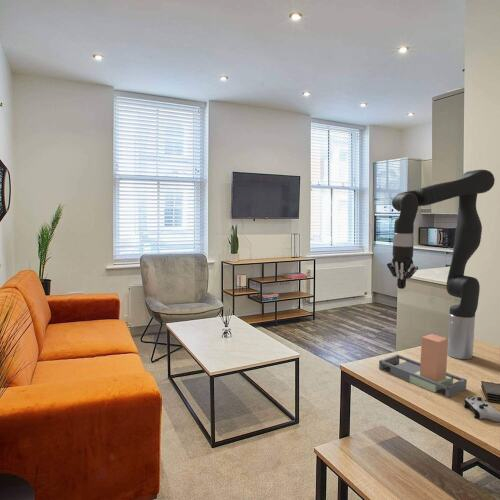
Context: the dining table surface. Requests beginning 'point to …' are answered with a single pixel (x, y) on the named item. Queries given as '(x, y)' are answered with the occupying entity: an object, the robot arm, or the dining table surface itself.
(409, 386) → the dining table surface
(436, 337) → the terracotta block
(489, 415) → the gaming controller
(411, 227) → the robot arm
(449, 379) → the box
